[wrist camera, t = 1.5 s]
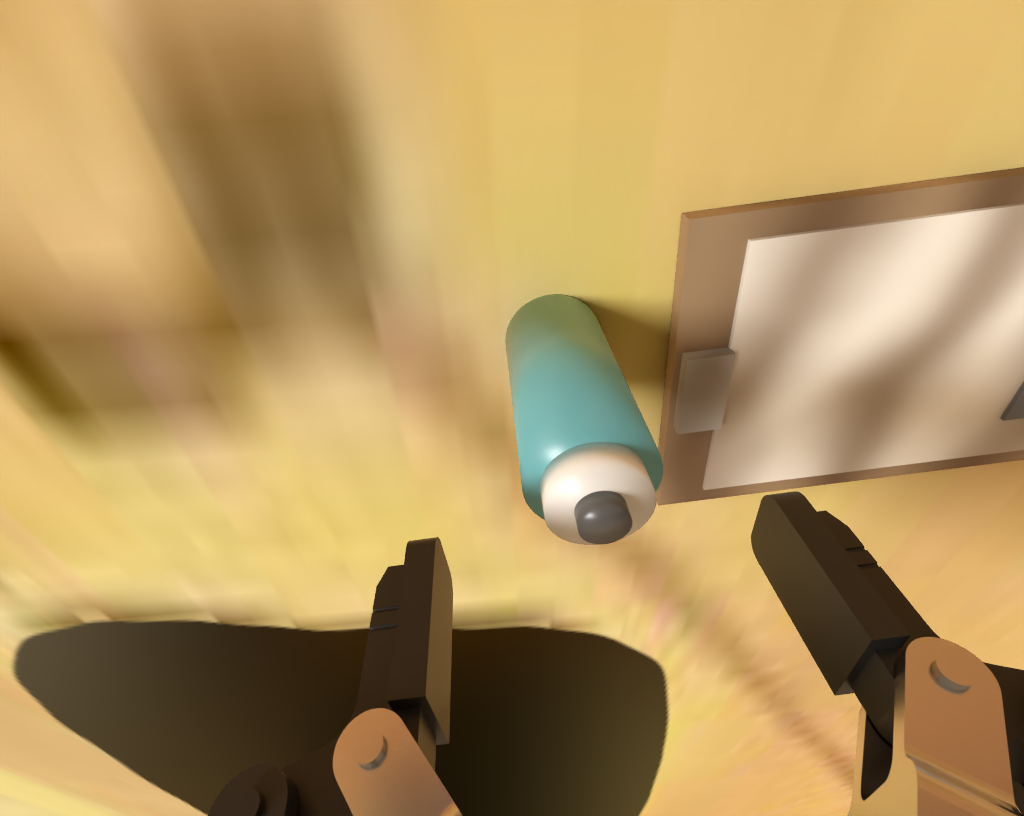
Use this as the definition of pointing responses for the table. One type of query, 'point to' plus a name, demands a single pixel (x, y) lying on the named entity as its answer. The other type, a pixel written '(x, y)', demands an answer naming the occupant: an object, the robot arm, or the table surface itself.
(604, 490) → the bottle
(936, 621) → the table surface
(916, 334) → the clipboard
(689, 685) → the table surface
